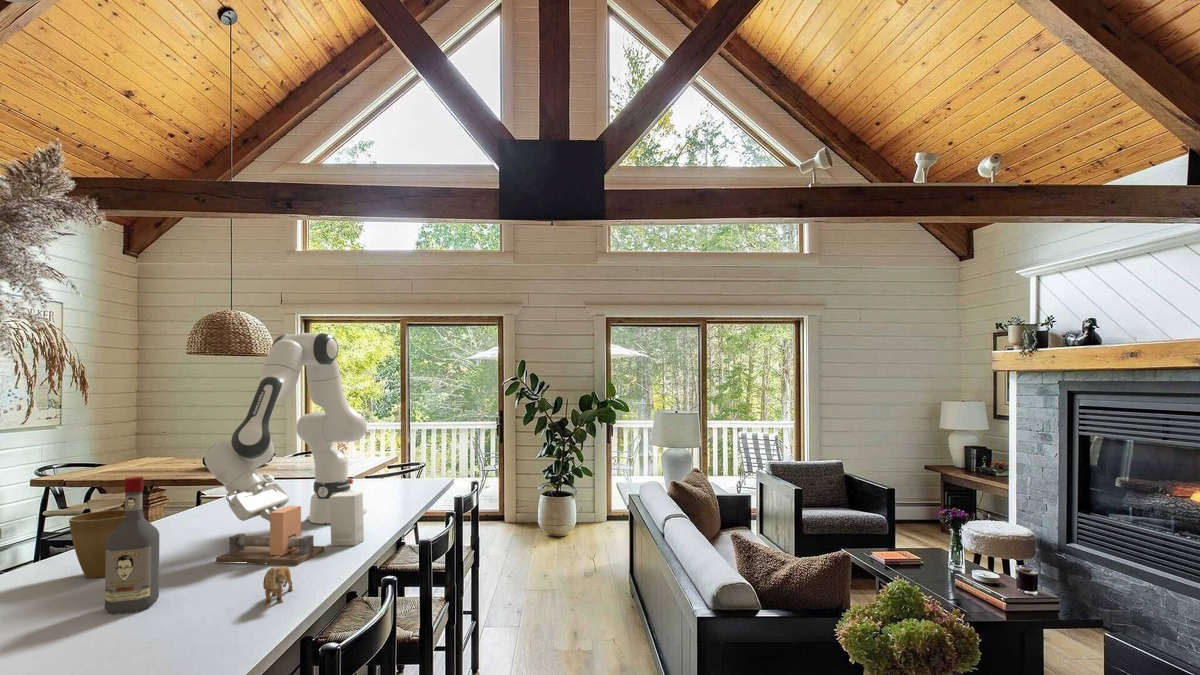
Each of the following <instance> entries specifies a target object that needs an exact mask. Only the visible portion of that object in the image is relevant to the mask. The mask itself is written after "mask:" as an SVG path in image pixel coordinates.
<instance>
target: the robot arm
mask: <svg viewBox="0 0 1200 675" xmlns="http://www.w3.org/2000/svg"><path fill="white" fill-rule="evenodd" d="M338 344H339V343H338V341H337V339H336V338H335V337H334V336H333V335H332V334H329V333H324V332H323V333H322V332H321V333H318V332H317V333H315V332H302V333H295V334H290V333H289V334H288V333H287V334H283V335H280V336H278V337H275V340H274V341H273V342H272V344H271V348H270V350H269V352H268V354H267V356H266V358H265V361H264V364H263V365H262V368H261V372H260V375H259V380H258V385H257V389H256V392H255V395H254V398H253V400H252V402H251V404H250V406H249V407H250V408H249V410H248V412H247V414H246V416H245V418H244V420H243V421H242V422H241V424H240V425H239V426H238V427H237V428H236V429H235V430H234V432H233V434H232V435H231V436H232V437H231V440H220V441H218V442H216V443H214V444H213V445H211V447H209V449H208V450H207V451H206V453H205V455H204V460H203V461H204V464H205V466H206V468H207V469H208V470H209V472H210V473H211V474H212V476H213V477H214V478H215V479H216V480H217V481H218V482H220V483H222V484H223V486H224V489H225V491H227V493H226V496H225V497H226V498H225V500H226V502H228V506H229V508H230V509H231V510H230V511H232V512H233V514H234V515H235V517H236V518H237V519H238V520H239V521H242V522H244V521H247V520H250V519H253V518H256V517H258V516H260V517H261V518H263V519H264V520H267V521H268V522H269V523H270V512H273V511H276V510H278V509H281V508H284V507H285V505H286V504H287V503H288V502H289V501H290V497H289V495H288V493H287V492H286V491H285V490H284V489H283V488H282V487H281V486H280V485H279V484H278V483H277V482H275V478H274V477H273V475H270V474H263V473H259V472H257V471H255V470H257V469H258V468H261V467H262V466H263V465H266V464H267V463H269V462H270V461H271V460H272V459H273V457H274V455H275V450H276V448H275V444H274V442H273V440H272V437H271V434H270V429H269V426H270V421H271V419H272V416H273V412H274V410H275V407H276V406H277V402H278V401H279V400H280V399H284V398H286V397H288V396H289V397H290V396H291V395H292V393H293V391H294V390H295V387H296V386H297V383H298V381H299V377H300V374H301V370H302V366H304V367H305V369H306V370H305V372H306V379H307V387H308V393H309V398H310V400H311V401H312V403H313V404H314V405H315V404H316V405H317V406H319V407H320V408H321V409H322V410H323V411H315V412H310V413H305V414H303V415H301V416H300V417H299V419H298V420H297V422H296V433H297V435H298V438H300V439H301V440H302V441H304V443H305V444H306V445H307V446H308V448H309V449H310V450H309V451H310V452H311V453H312V457H313V461H314V482H313V487H312V488H313V492H314V493H313V494H312V496H311V498H310V504H309V505H310V506H309V515H307V516H306V520H308V521H309V522H310V523H313V524H319V525H320V524H325V523H326V524H331V523H330V497H331V496H333V495H335V494H337V493H345V492H354V491H353V490H352V489H351V488H352V487H351V485H353V484H354V479H353V478H349V476H348V475H349V471H348V469H349V461H348V460H349V459H348V457H347V456H346V455H345V454H344V453H342V452H341V451H339V450H338V449H337V448H338V447H336V445H335V443H353V442H357V441H360V440H361V439H362V438H364V436H365V435H366V433H367V427H368V424H367V421H366V419H365V417H364V416H363V414H361V413H359V412H357V411H356V410H355V409H354V408H353V406H352V405H351V404H350V403H349V401H348V399H347V397H346V395H345V392H344V388H343V385H342V383H343V382H342V379H341V372H340V366H339V363H338V359H337V357H338V353H339V345H338ZM366 512H367V508H364V507H363V515H364V514H365V513H366Z"/></svg>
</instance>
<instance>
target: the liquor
mask: <svg viewBox="0 0 1200 675" xmlns="http://www.w3.org/2000/svg"><path fill="white" fill-rule="evenodd" d="M143 491H144V476H131V477H127V478H124V493H125V497H124V510H125V515H124V517H123V521H122V523H121V524H120V525H119V526H118V527H117V528H116V529H115V530H114V531H113V532H112V534H111V535H110V536H109V537H108V539H107V541H106V565H105V576H104V583H105V584H104V609H105V611H106V613H108V614H112V615H117V613H121V614H127V613H126V612H131V613H137V612H136V611H138V612H141V610H142V611H145V610H148V609H150V608H151V607H152V606H153V605H154V604H155V603H157V601H158V599H159V596H160V594H159V593H160V589H159V588H160V531H159V530H158V529H157V527H155V526H154V524H152V523H151V522H150V521H148V520H147V519H146V518H145V515H144V511H143ZM149 607H150V608H149ZM144 609H145V610H144Z"/></svg>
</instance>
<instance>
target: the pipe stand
mask: <svg viewBox="0 0 1200 675" xmlns="http://www.w3.org/2000/svg"><path fill="white" fill-rule="evenodd" d="M314 541H315V540H314V535H313V534H311V535H310V534H307V535H305V536H301V537H288V547H298V548H297V549H295V550H293V551H291V552H289V553H287V554H285V555H270V535H246V534H245V533H236V534H234V535H232V536H229V542H228V544H229V545H228V548H229V549H228V550H229V551H228V552H226V553H222V554H221V555H219V556H217V557H215V563H216V562H247V563H267V564H266V565H271V564H279V565H280V566H299V565H301V564H302V562H303V563H305V562H306V561H309V560H310V559H312V558H314V557H316V556H318V555H320V554H321V553H324V552H325V545H314ZM304 561H305V562H304ZM300 563H301V564H300ZM298 564H299V565H298ZM279 565H278V566H279Z"/></svg>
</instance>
